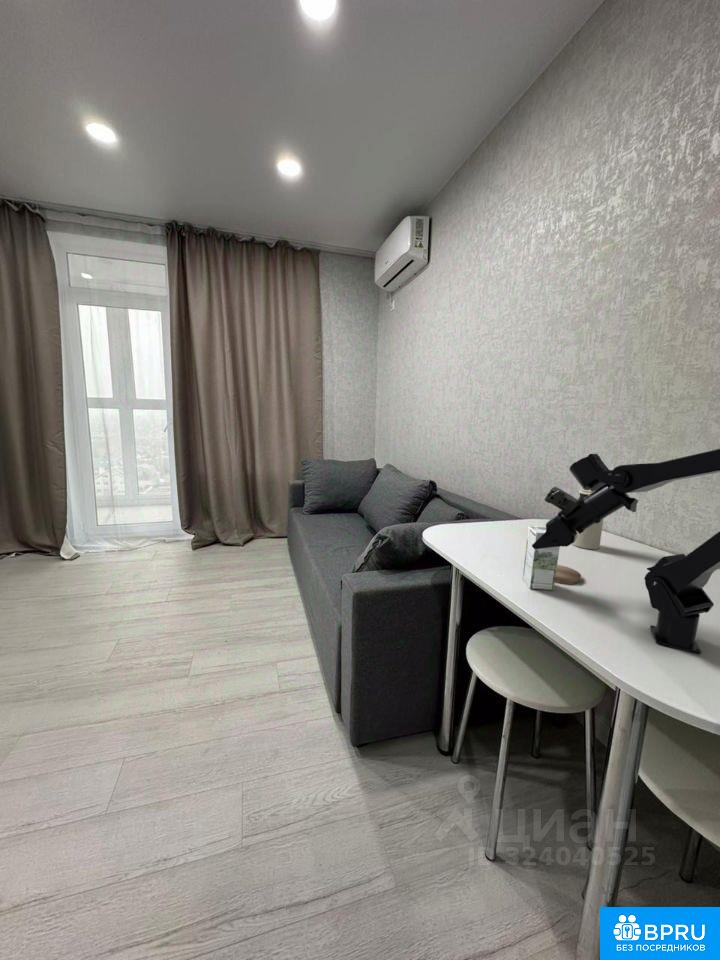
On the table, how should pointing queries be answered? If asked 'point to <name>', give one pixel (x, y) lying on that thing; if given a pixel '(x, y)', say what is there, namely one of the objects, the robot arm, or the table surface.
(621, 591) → the table surface
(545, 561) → the syrup box
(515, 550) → the table surface
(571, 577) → the walnut stand
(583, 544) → the travel mug
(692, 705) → the table surface
